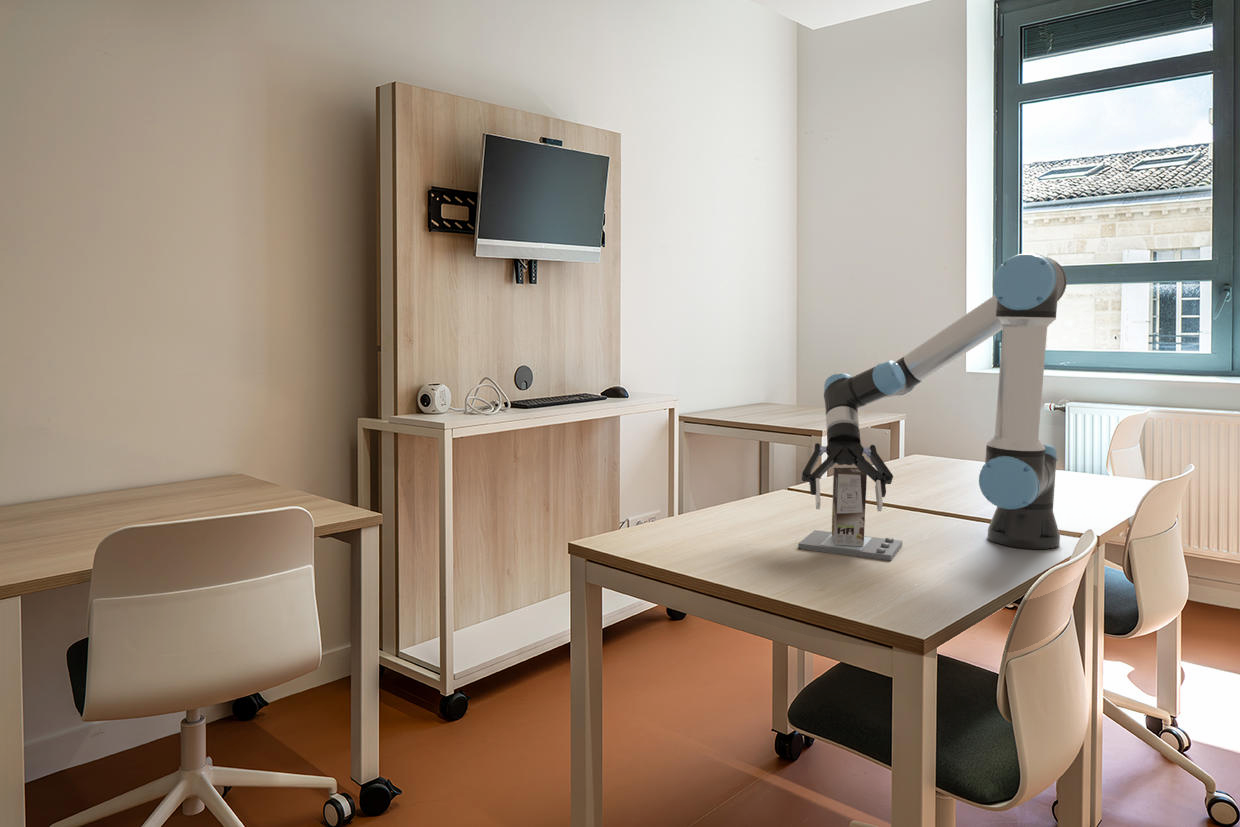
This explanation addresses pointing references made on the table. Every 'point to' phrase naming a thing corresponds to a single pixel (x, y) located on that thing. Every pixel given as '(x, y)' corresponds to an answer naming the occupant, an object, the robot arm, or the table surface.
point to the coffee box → (849, 506)
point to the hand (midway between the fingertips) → (849, 507)
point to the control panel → (871, 548)
